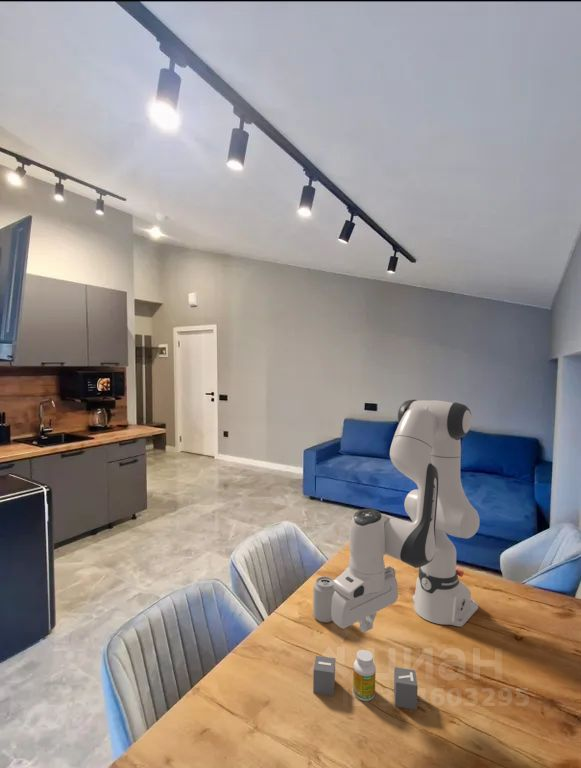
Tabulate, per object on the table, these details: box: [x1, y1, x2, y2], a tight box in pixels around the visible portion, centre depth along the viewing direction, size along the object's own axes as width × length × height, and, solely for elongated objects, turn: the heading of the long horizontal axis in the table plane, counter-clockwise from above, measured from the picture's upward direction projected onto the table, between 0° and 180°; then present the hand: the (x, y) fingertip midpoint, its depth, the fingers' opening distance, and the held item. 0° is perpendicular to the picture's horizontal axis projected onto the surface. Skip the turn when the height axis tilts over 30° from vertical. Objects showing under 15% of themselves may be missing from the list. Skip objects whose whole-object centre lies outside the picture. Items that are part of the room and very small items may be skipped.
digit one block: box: [312, 655, 336, 697], centre depth 103 cm, size 5×5×6 cm
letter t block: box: [393, 666, 418, 711], centre depth 100 cm, size 5×5×6 cm
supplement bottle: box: [352, 649, 377, 702], centre depth 102 cm, size 5×5×10 cm
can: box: [312, 575, 336, 624], centre depth 132 cm, size 8×8×12 cm
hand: (366, 629), depth 103 cm, fingers closed
